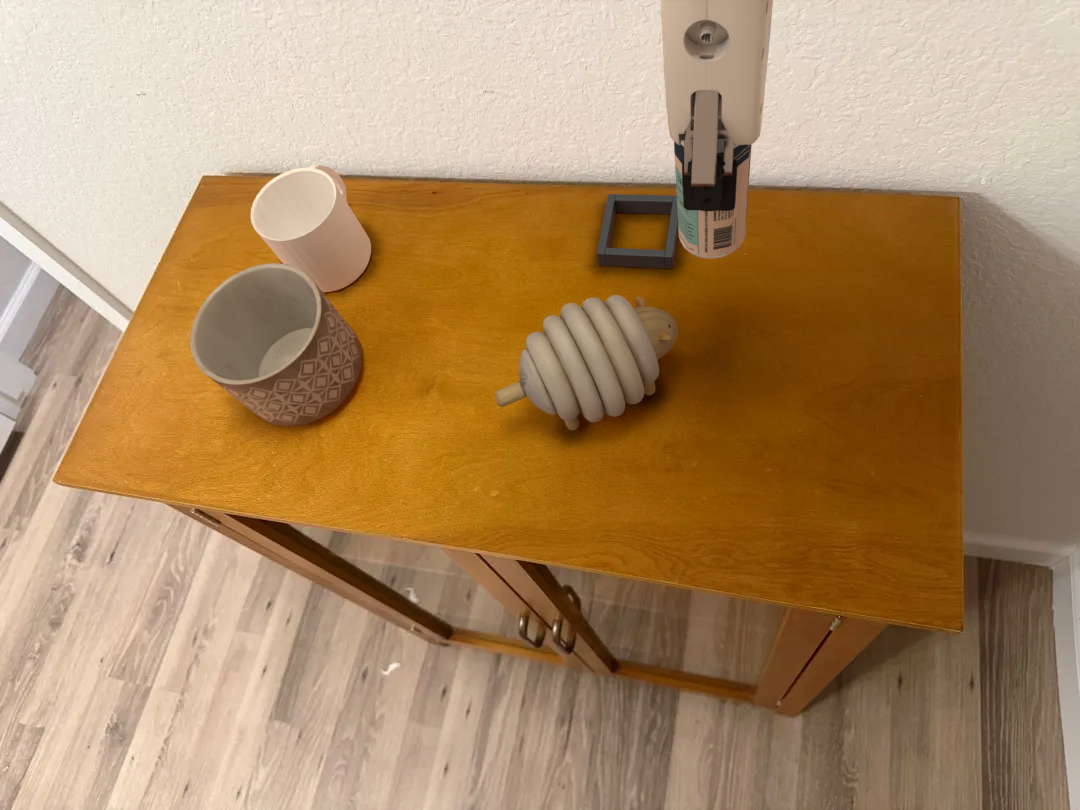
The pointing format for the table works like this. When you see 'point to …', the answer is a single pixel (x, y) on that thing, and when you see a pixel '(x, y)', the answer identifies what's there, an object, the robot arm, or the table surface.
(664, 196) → the holder
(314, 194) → the mug
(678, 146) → the beer can
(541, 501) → the table surface
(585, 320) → the toy sheep
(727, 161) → the robot arm
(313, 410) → the planter
